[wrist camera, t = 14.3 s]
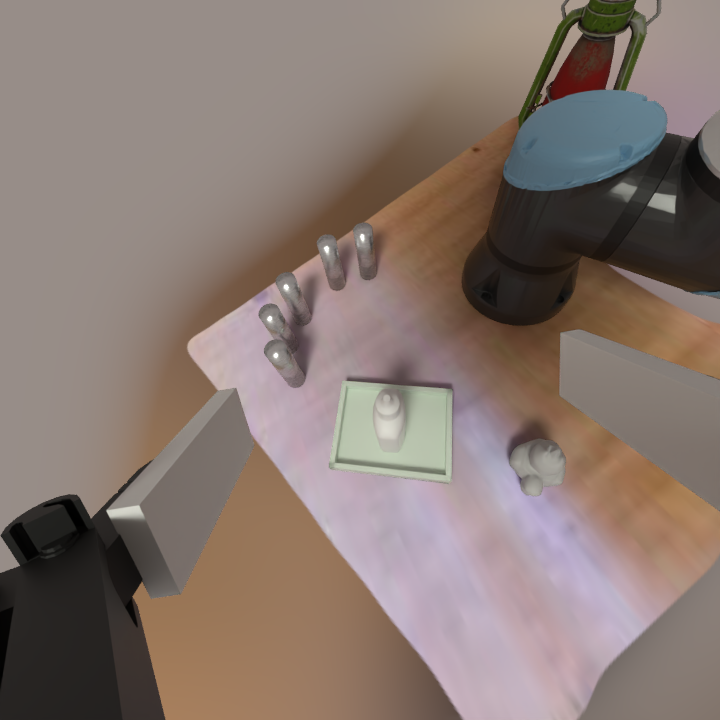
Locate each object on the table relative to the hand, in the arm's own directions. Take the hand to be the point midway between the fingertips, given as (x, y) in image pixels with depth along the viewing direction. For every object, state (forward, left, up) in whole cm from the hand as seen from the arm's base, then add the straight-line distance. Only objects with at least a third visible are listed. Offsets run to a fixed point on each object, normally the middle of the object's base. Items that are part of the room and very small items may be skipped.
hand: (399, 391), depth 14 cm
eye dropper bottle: (+1, -6, -29) cm, 30 cm away
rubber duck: (-15, -3, -30) cm, 33 cm away
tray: (+1, -6, -30) cm, 30 cm away
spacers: (+12, -21, -30) cm, 39 cm away
